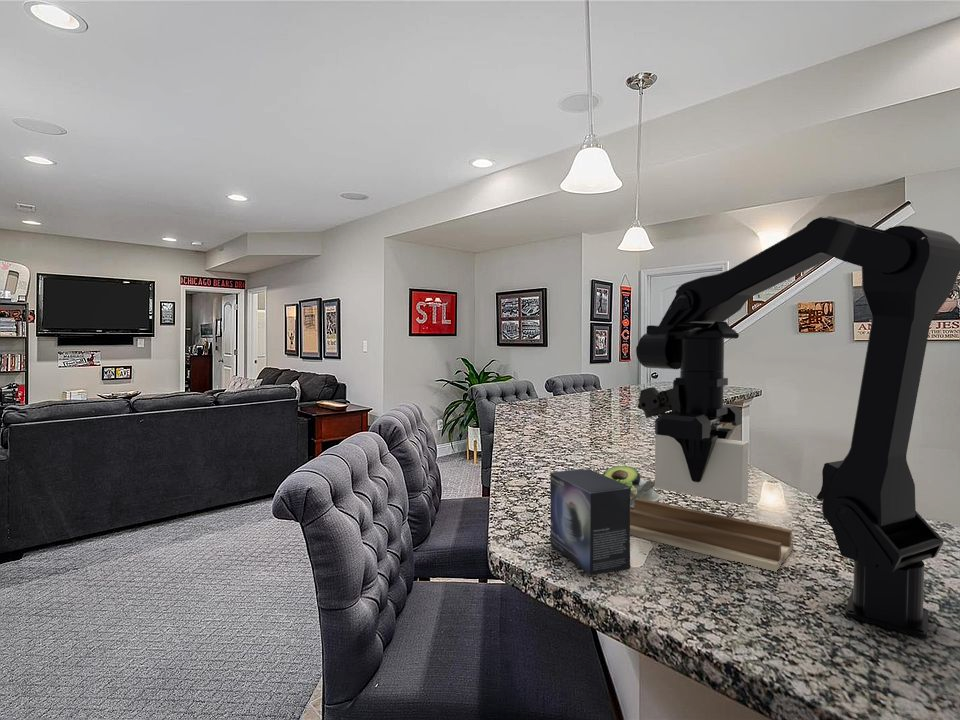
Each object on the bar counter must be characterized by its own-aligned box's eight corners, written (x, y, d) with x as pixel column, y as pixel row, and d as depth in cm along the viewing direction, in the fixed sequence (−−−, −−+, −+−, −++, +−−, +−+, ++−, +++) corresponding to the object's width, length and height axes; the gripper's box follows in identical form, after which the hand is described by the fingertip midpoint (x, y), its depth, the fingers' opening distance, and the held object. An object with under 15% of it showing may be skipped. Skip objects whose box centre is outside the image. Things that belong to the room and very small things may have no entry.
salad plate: (680, 518, 85) (681, 490, 85) (570, 516, 87) (571, 488, 86) (650, 486, 105) (650, 463, 105) (560, 484, 106) (560, 461, 106)
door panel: (741, 504, 70) (742, 444, 70) (654, 488, 78) (655, 434, 78) (747, 499, 72) (748, 441, 72) (662, 484, 80) (663, 432, 80)
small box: (546, 545, 73) (547, 470, 73) (586, 539, 75) (587, 467, 75) (587, 576, 63) (588, 490, 63) (632, 568, 66) (633, 485, 65)
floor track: (776, 572, 64) (776, 548, 64) (612, 530, 79) (612, 510, 79) (793, 549, 72) (793, 527, 72) (640, 514, 86) (641, 496, 86)
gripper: (670, 367, 87) (669, 460, 87) (619, 371, 73) (618, 482, 73) (743, 369, 80) (741, 471, 80) (701, 374, 66) (699, 497, 66)
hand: (700, 479), depth 75 cm, fingers closed on door panel, 3 cm apart
